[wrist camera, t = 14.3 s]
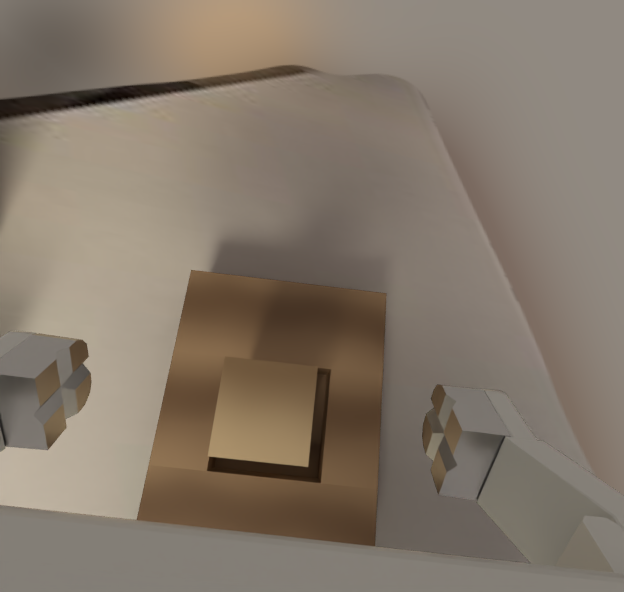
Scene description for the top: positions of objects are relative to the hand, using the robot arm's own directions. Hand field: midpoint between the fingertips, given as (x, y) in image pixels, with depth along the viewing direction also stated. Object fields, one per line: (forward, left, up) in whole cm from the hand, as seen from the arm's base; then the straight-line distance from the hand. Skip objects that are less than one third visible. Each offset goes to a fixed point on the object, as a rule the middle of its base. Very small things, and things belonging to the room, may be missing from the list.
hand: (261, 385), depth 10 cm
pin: (0, 0, -16) cm, 16 cm away
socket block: (0, 0, -17) cm, 17 cm away
